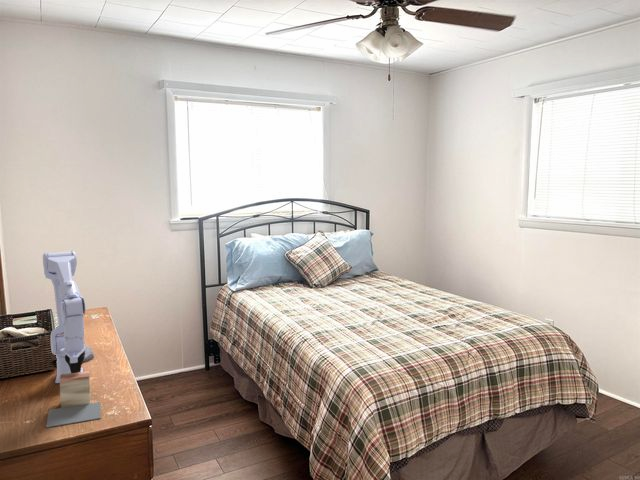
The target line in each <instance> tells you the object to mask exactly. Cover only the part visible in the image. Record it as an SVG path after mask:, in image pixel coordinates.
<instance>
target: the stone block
mask: <svg viewBox="0 0 640 480" xmlns="http://www.w3.org/2000/svg"><path fill="white" fill-rule="evenodd" d="M85 347H86V350H85V358H84V360H83V362H82V363H84V362H87V361H90V360H92V359H94V357H95V354H94V350H93V349H92V348H91V347H90V346H89V345H88V344H85Z"/></svg>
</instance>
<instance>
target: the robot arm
mask: <svg viewBox="0 0 640 480" xmlns="http://www.w3.org/2000/svg"><path fill="white" fill-rule="evenodd" d="M77 262H78V261H77V254H76V252H75V251H74V250H71V251H59V252H56V251H55V252H44V254H42V263H43V264H42V265H43V272H44V276H45V279H49V280H50V281H51V282H52V285H53V290H54V299H55V300H54V301H55V307H56V314H57V324H58V325H57V327H55V328H54V329H53V330H52V331H51V333H50V349H51V351H50V352H51V353H52V355H56V358H57V361H56V370H57V372H56V377H55V382H54V383H55V384H60V375H61V374H69V373H77V372H84V368H83V367H82V365H83V363H84V362H83V360H84V358H85V350H86V347H85V345H86V344H85V323H84V322H85V321H84V319H85V318H84V316H85V315H86V300H85V299H84V296H82V294H81V293H80V289H79V286H78V283H77V282H76V281H74V280H73V276H75V273H76V269H77V264H78V263H77Z"/></svg>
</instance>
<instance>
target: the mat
mask: <svg viewBox="0 0 640 480" xmlns="http://www.w3.org/2000/svg"><path fill="white" fill-rule="evenodd" d="M101 405H102V402H101V401H98V402H92V403H91V402H90V404H84V405H78V406H71V407H65V408H61V407H59V408H54V409H49V411H48V415H47V420H46V424H45V428H46V429H48V428H55V427H60V426H67V425H71V424H72V425H73V424H78V423H83V422H90V421H94V420H101V416H102V415H101V413H102V412H101V411H102V410H101V408H102V406H101Z"/></svg>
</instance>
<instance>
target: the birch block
mask: <svg viewBox="0 0 640 480" xmlns="http://www.w3.org/2000/svg"><path fill="white" fill-rule="evenodd" d="M59 397H60V408H65V407H71V406H78V405H84V404H90V403H91V379H90V370H85V371H84V370H83V372H77V373H69V374H61V375H60V383H59Z"/></svg>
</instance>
